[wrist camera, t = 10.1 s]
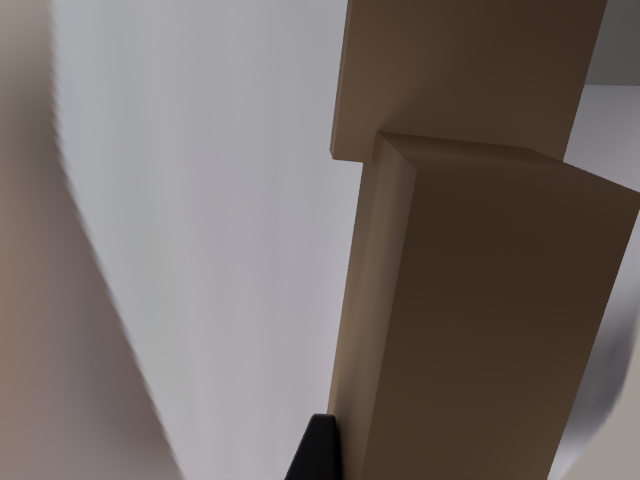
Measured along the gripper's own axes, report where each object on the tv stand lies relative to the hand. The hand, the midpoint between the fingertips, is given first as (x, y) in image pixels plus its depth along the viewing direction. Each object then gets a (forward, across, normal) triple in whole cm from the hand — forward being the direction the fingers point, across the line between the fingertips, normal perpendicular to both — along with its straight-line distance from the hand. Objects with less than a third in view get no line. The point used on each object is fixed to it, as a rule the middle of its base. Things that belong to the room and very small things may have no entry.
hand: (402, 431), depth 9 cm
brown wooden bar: (+1, 0, 0) cm, 1 cm away
